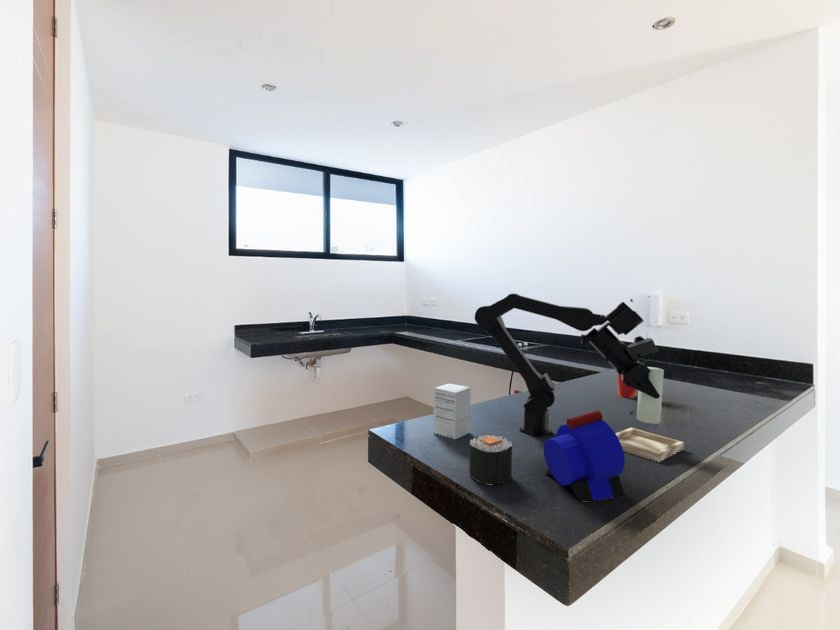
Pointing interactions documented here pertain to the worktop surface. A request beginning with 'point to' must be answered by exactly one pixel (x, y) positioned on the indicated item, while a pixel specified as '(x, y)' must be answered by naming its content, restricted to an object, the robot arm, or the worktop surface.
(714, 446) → the worktop surface
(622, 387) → the paper cup
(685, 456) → the worktop surface
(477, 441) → the sushi
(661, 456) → the birch tray
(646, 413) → the sage post
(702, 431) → the worktop surface
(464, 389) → the supplement box
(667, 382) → the worktop surface
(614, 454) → the alarm clock
